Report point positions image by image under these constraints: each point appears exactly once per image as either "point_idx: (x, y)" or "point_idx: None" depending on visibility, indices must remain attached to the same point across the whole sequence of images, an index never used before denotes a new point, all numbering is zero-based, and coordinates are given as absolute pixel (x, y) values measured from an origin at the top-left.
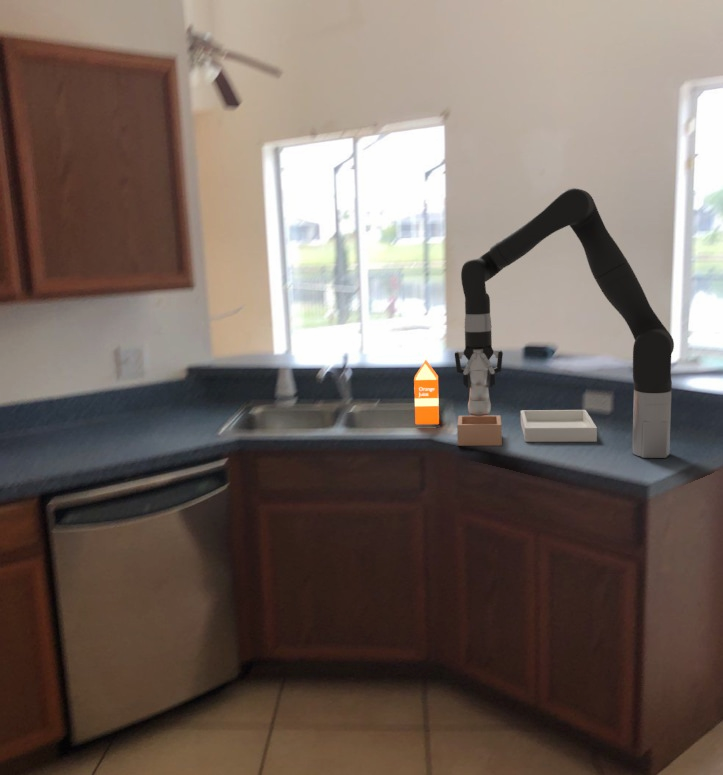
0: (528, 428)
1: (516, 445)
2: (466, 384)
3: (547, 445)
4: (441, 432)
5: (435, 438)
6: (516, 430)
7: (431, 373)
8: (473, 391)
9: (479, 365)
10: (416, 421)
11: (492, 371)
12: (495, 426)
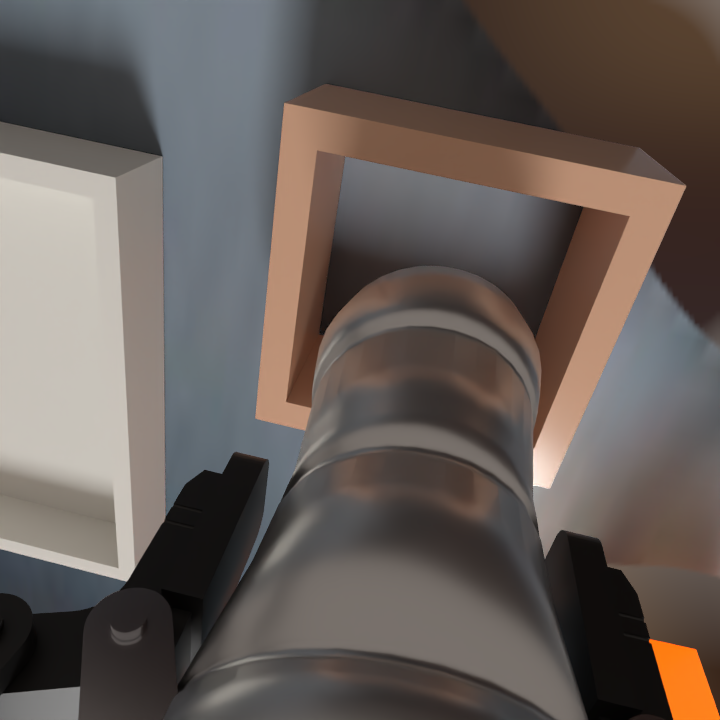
0: (92, 170)
1: (224, 65)
2: (599, 562)
3: (23, 23)
4: (619, 481)
5: (714, 368)
6: (195, 413)
7: None
8: (506, 437)
9: None
10: (695, 663)
11: (124, 631)
12: (339, 111)
